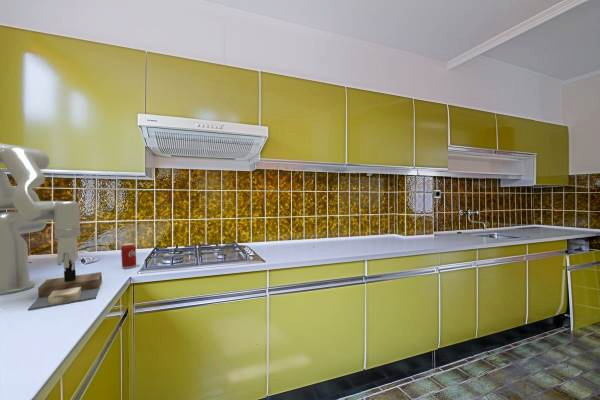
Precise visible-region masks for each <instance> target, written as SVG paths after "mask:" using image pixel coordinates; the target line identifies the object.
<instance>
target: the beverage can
mask: <svg viewBox="0 0 600 400" xmlns="http://www.w3.org/2000/svg"><path fill="white" fill-rule="evenodd" d="M120 249H121V250H120V253H121V267H122V268H123V269H133V268H135V267H136V266H137V250H136V249H137V248H136V245H135V243H134V242H132V243H131V242H128V243H124V244H122V246H121V247H120Z"/></svg>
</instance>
